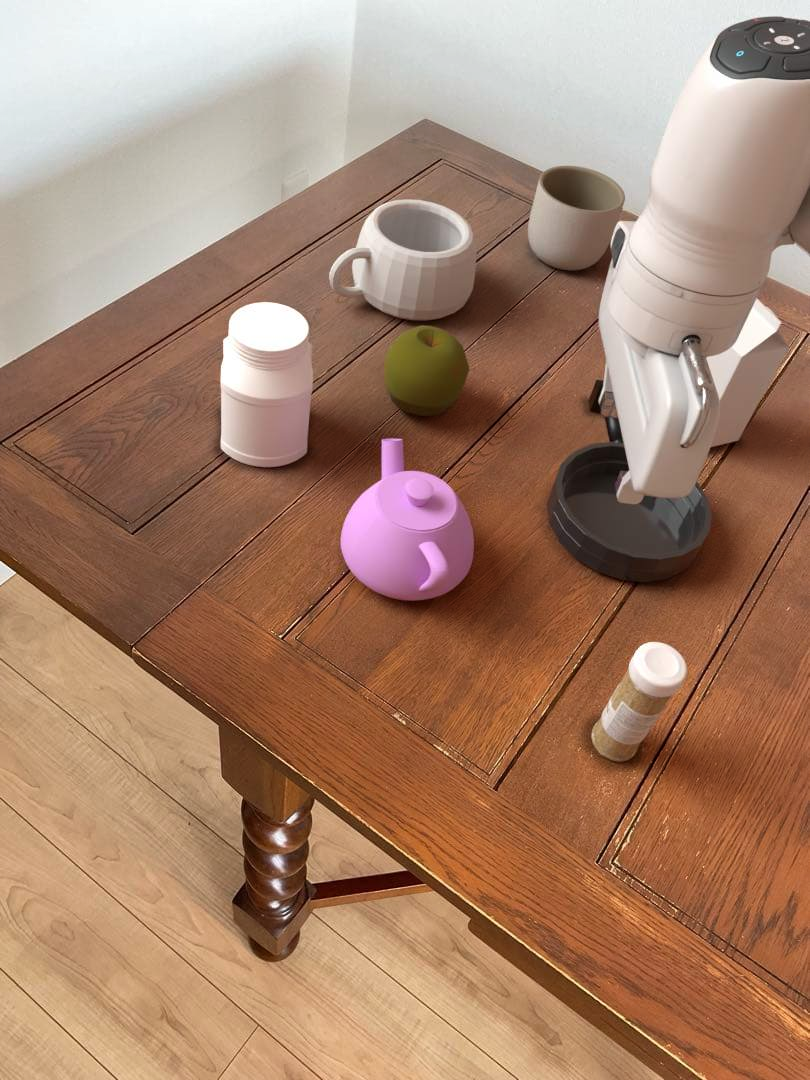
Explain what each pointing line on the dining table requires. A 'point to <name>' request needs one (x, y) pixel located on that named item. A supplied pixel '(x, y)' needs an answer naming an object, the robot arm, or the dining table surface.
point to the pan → (623, 519)
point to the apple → (425, 370)
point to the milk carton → (746, 371)
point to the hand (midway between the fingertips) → (617, 452)
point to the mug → (411, 261)
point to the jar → (266, 385)
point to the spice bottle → (638, 700)
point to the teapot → (407, 533)
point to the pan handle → (611, 422)
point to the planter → (573, 216)
